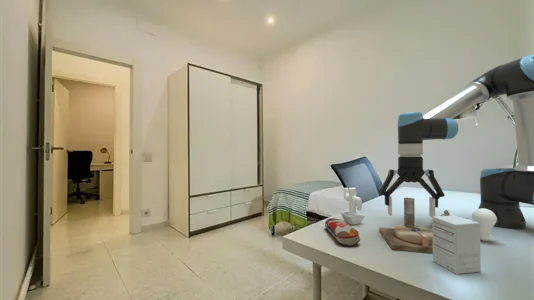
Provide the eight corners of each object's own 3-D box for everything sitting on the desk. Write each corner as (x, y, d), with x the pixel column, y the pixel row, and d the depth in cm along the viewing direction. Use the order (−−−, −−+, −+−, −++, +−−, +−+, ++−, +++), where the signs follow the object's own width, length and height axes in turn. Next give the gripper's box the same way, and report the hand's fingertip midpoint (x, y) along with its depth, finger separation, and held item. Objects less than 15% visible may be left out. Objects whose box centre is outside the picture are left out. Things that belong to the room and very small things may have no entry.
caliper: (447, 224, 98) (446, 209, 98) (450, 225, 97) (449, 209, 97) (419, 233, 88) (419, 216, 88) (422, 234, 87) (422, 217, 87)
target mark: (426, 245, 72) (426, 236, 72) (428, 247, 71) (428, 237, 71) (422, 245, 73) (422, 235, 73) (423, 247, 72) (423, 237, 72)
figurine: (353, 227, 95) (353, 190, 95) (338, 220, 104) (338, 186, 104) (367, 224, 98) (367, 188, 98) (351, 218, 107) (351, 185, 107)
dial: (449, 245, 72) (448, 206, 72) (404, 243, 74) (403, 205, 74) (425, 230, 85) (425, 197, 85) (388, 229, 86) (387, 197, 86)
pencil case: (326, 246, 77) (326, 231, 77) (324, 227, 96) (324, 215, 96) (362, 249, 74) (361, 233, 74) (352, 228, 94) (352, 216, 94)
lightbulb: (473, 236, 84) (473, 205, 84) (497, 240, 80) (497, 208, 80) (471, 240, 80) (471, 208, 80) (496, 246, 75) (496, 211, 75)
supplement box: (454, 259, 67) (454, 214, 67) (481, 272, 59) (481, 222, 59) (431, 260, 66) (431, 215, 66) (456, 274, 58) (455, 224, 58)
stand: (435, 235, 85) (435, 231, 85) (463, 255, 69) (463, 250, 69) (379, 231, 90) (379, 227, 90) (392, 250, 73) (392, 245, 73)
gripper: (444, 155, 84) (445, 214, 84) (370, 155, 90) (370, 211, 90) (456, 156, 77) (457, 220, 77) (374, 156, 83) (375, 216, 83)
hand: (410, 215), depth 84 cm, fingers open, 13 cm apart
